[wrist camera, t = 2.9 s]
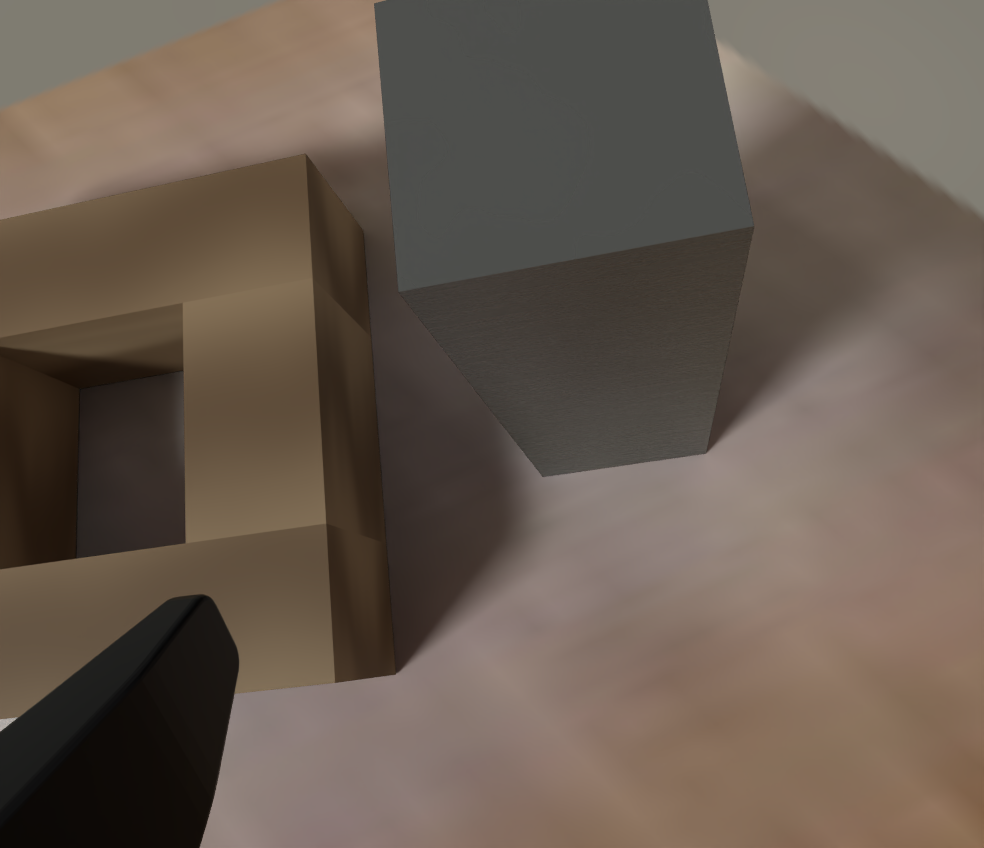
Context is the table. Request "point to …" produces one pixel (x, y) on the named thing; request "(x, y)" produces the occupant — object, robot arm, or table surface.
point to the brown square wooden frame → (198, 425)
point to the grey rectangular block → (569, 214)
